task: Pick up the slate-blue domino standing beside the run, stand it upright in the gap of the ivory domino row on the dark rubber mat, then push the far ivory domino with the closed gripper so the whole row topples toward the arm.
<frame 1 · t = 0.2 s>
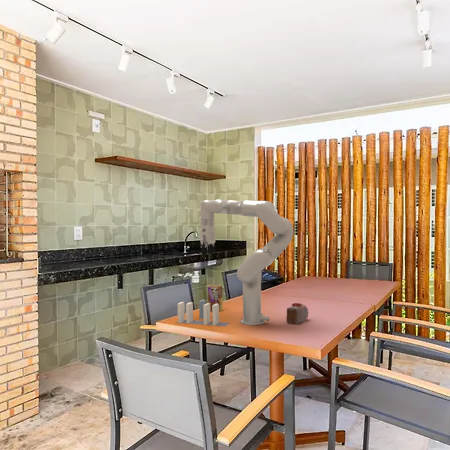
hand: (207, 254, 214), 36 cm above the table, tool pointing down, fingers open, 9 cm apart
domino b: (189, 322, 208), resting on mat
domino d: (215, 323, 203), resting on mat
food item: (297, 322, 206), on the table
mat: (203, 323, 206), on the table
domino c: (207, 323, 204), resting on mat
slate domino: (202, 318, 217), on the table
domino a: (181, 321, 210), resting on mat
candy box: (215, 310, 236), on the table
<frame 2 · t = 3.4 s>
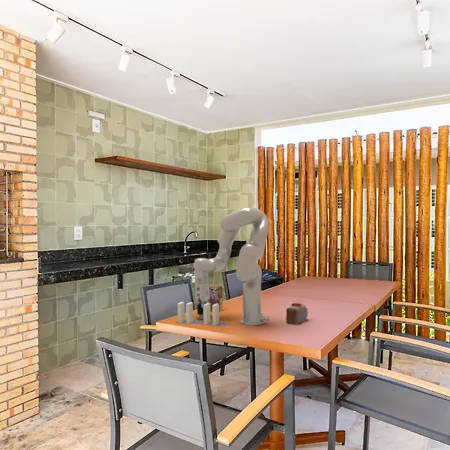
hand: (202, 312, 217), 3 cm above the table, tool pointing down, fingers closed on slate domino, 4 cm apart
slate domino: (202, 318, 217), on the table, touching gripper
everything else where it was.
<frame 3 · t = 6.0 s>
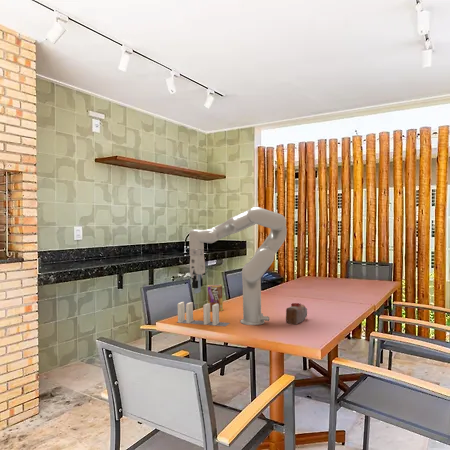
hand: (197, 286, 206), 19 cm above the table, tool pointing down, fingers closed on slate domino, 4 cm apart
slate domino: (197, 292, 206), point 16 cm above the table, touching gripper
everything else where it was.
when the fingers open (4 cm above the table, at t = 9.1 s): slate domino drops 1 cm, resting on mat.
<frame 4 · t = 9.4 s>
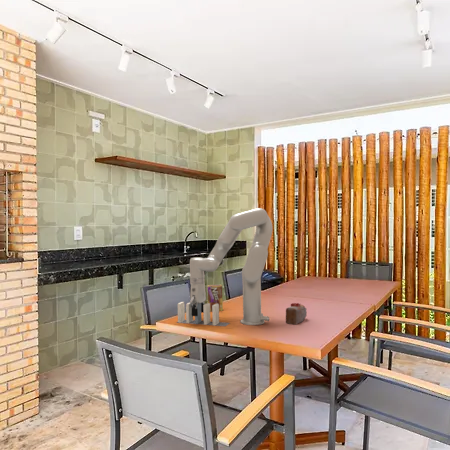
hand: (198, 314, 206), 5 cm above the table, tool pointing down, fingers open, 8 cm apart
slate domino: (198, 322, 206), resting on mat
everything else where it was.
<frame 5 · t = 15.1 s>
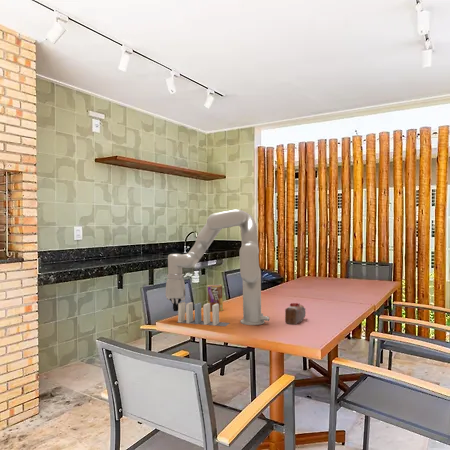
hand: (176, 310, 211), 6 cm above the table, tool pointing down, fingers closed
domino a: (181, 321, 210), resting on mat, touching gripper
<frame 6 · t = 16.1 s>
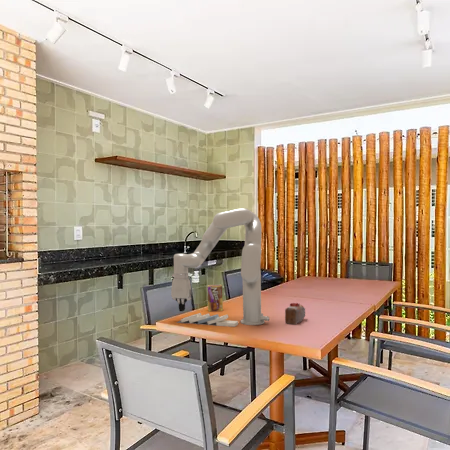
hand: (182, 310, 209), 6 cm above the table, tool pointing down, fingers closed
domino b: (191, 320, 208), point 1 cm above the table, tilted 72°, touching domino a, mat, slate domino
domino d: (218, 322, 202), point 1 cm above the table, tilted 90°, touching domino c, mat
domino c: (209, 322, 204), point 1 cm above the table, tilted 71°, touching domino d, slate domino
slate domino: (200, 321, 206), point 1 cm above the table, tilted 72°, touching domino b, domino c, mat
domino a: (183, 320, 209), point 1 cm above the table, tilted 71°, touching domino b
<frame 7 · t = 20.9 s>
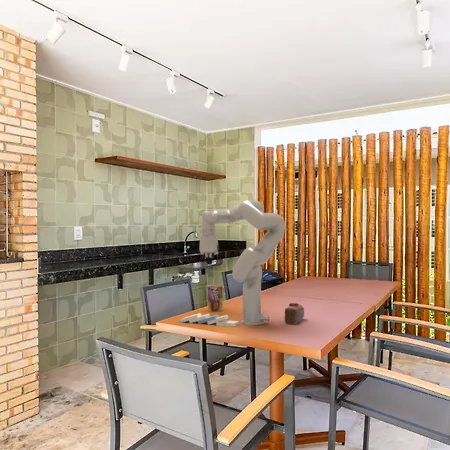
hand: (209, 264, 224), 29 cm above the table, tool pointing down, fingers closed
at the end: domino d tilted 90°; slate domino tilted 72°; slate domino inside the target area (0.0 cm from its centre), point 1.2 cm above the table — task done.
